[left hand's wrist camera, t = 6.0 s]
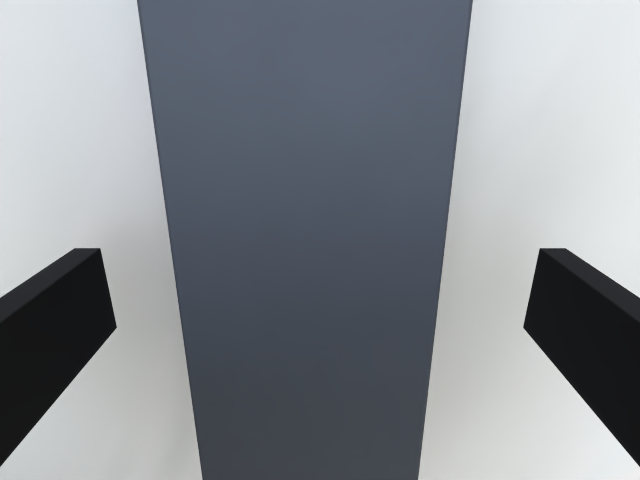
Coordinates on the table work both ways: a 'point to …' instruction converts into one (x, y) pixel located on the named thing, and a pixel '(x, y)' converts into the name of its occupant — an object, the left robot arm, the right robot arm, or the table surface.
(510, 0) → the table surface
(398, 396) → the post
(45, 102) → the table surface
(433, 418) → the table surface
